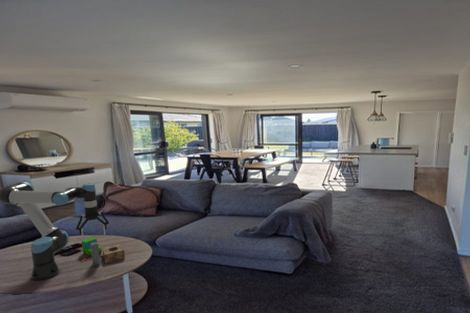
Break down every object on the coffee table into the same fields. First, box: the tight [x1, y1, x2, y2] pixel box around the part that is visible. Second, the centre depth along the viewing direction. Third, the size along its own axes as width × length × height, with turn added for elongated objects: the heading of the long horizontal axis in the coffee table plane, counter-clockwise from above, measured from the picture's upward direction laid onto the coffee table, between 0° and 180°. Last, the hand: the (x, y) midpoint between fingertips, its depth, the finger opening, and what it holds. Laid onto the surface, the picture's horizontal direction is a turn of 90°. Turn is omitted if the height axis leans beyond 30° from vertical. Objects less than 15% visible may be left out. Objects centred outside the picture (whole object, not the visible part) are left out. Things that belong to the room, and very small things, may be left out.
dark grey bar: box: [91, 241, 101, 267], centre depth 202 cm, size 4×4×15 cm
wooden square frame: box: [102, 243, 125, 264], centre depth 213 cm, size 13×13×6 cm
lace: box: [80, 254, 103, 263], centre depth 213 cm, size 17×4×1 cm, turn 130°
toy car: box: [81, 236, 103, 257], centre depth 220 cm, size 10×13×10 cm
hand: (93, 236), depth 201 cm, fingers open, 13 cm apart
